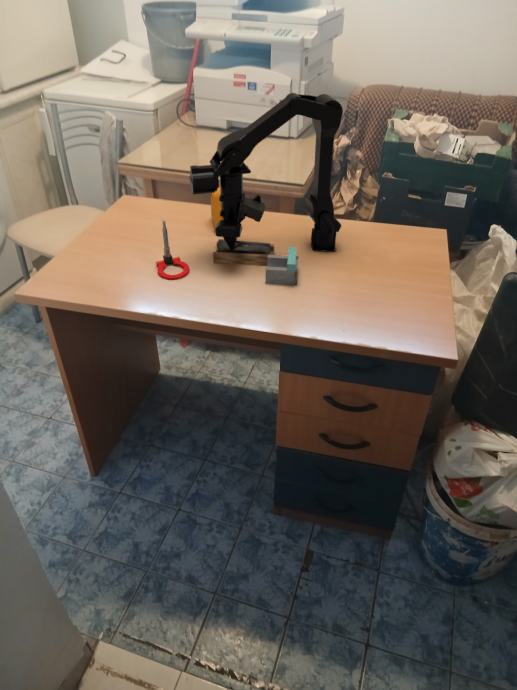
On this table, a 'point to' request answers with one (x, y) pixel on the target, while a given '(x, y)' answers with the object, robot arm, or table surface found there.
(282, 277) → the socket
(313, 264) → the table surface
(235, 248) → the rod
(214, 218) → the bracket
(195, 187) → the robot arm
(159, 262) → the tow hook
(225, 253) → the rail
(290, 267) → the teal rectangular block
